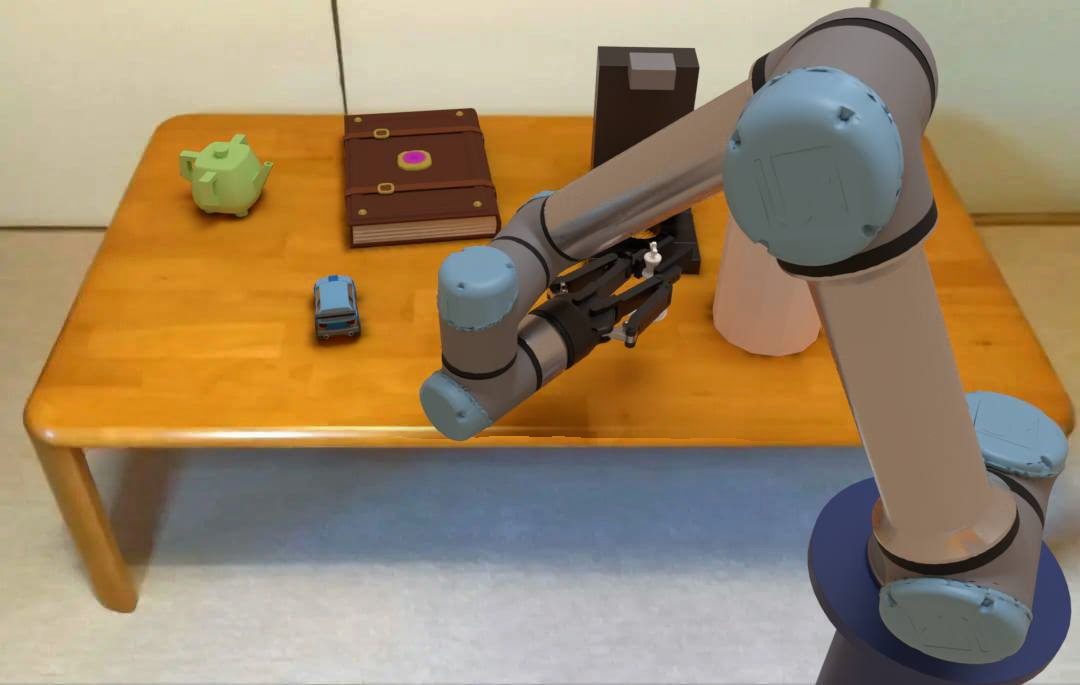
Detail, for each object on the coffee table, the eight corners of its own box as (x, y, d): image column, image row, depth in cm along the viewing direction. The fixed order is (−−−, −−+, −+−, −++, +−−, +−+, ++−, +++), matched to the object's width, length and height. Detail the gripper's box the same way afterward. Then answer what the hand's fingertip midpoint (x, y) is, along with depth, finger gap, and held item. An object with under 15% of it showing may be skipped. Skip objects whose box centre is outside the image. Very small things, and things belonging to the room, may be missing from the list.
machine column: (684, 229, 154) (706, 70, 137) (591, 227, 154) (601, 68, 136) (676, 189, 162) (696, 34, 145) (589, 187, 162) (598, 32, 145)
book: (348, 248, 149) (345, 220, 145) (345, 138, 172) (342, 111, 168) (503, 237, 152) (502, 209, 148) (479, 129, 175) (478, 103, 171)
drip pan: (698, 274, 146) (701, 260, 144) (587, 272, 146) (588, 258, 144) (687, 210, 158) (688, 196, 156) (583, 208, 157) (584, 195, 156)
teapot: (210, 233, 151) (197, 176, 144) (181, 197, 158) (167, 141, 151) (284, 208, 156) (274, 152, 150) (253, 174, 163) (242, 119, 156)
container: (693, 302, 141) (710, 192, 129) (780, 277, 146) (804, 169, 134) (750, 367, 131) (774, 255, 119) (841, 338, 136) (873, 228, 124)
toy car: (356, 288, 142) (352, 255, 138) (363, 345, 133) (358, 311, 129) (314, 293, 141) (308, 260, 137) (317, 350, 132) (311, 317, 128)
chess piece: (661, 295, 126) (669, 228, 119) (671, 320, 122) (680, 253, 115) (622, 299, 125) (628, 232, 118) (632, 325, 121) (638, 257, 115)
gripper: (496, 336, 116) (629, 249, 129) (596, 402, 108) (727, 303, 121) (495, 284, 111) (634, 199, 124) (600, 350, 103) (736, 252, 116)
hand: (680, 250), depth 123 cm, fingers closed on chess piece, 2 cm apart
